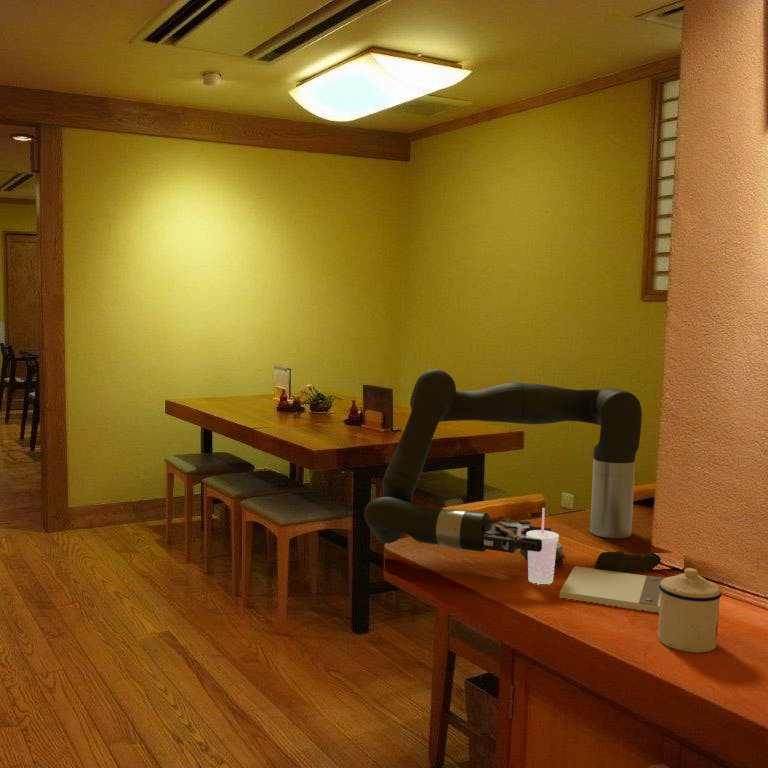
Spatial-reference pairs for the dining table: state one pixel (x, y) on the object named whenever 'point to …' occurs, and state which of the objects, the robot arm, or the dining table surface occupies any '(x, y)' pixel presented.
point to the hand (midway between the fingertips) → (546, 539)
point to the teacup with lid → (689, 612)
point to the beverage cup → (542, 555)
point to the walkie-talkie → (557, 559)
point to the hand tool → (626, 561)
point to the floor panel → (613, 588)
